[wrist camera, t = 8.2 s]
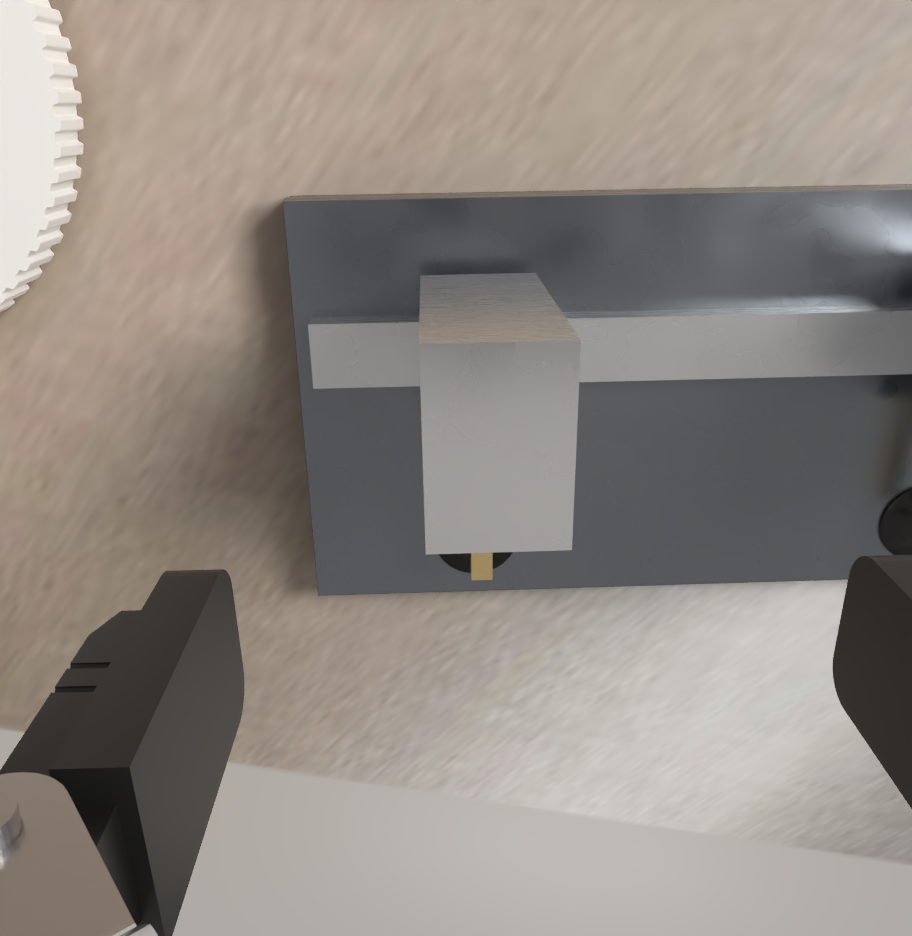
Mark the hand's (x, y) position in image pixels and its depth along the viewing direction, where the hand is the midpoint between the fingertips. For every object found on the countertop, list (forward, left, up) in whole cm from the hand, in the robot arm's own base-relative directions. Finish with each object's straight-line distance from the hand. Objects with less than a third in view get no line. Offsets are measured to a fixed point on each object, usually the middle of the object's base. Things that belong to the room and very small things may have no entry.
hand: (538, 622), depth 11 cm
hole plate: (-6, +2, -16) cm, 17 cm away
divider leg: (0, +2, -13) cm, 13 cm away
